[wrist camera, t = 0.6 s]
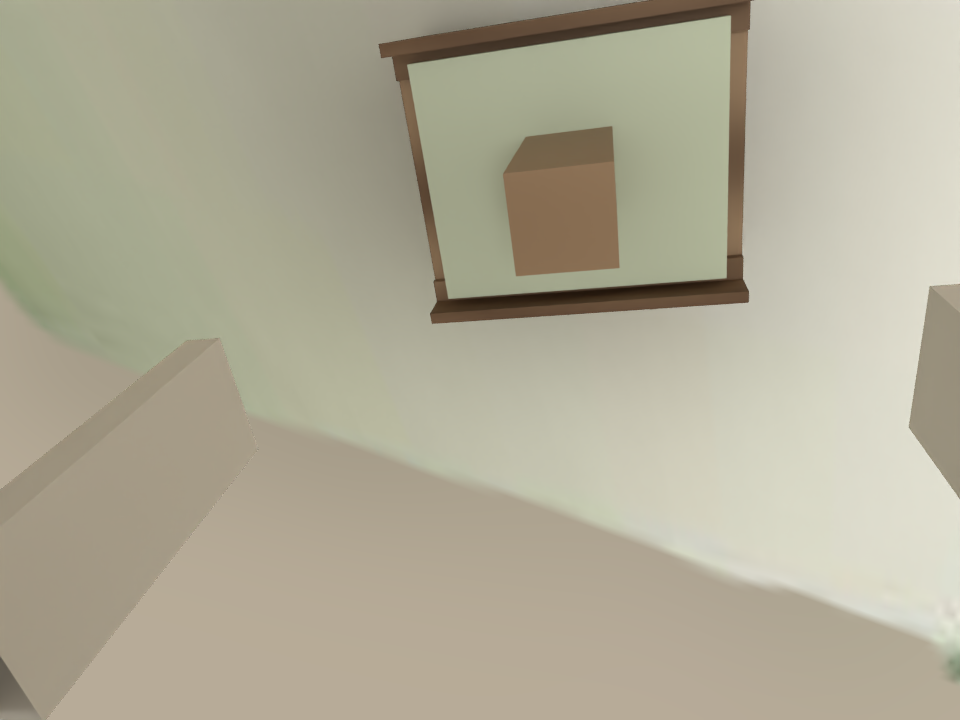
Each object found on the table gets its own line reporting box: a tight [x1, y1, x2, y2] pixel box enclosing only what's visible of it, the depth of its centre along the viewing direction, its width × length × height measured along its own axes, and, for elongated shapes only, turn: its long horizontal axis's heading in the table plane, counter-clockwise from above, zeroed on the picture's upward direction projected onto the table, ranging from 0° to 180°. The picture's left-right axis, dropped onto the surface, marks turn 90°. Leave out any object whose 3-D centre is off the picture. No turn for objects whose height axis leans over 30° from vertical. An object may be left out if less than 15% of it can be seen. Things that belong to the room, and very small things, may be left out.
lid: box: [407, 15, 731, 299], centre depth 26 cm, size 10×12×8 cm
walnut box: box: [379, 0, 752, 324], centre depth 31 cm, size 12×14×8 cm
